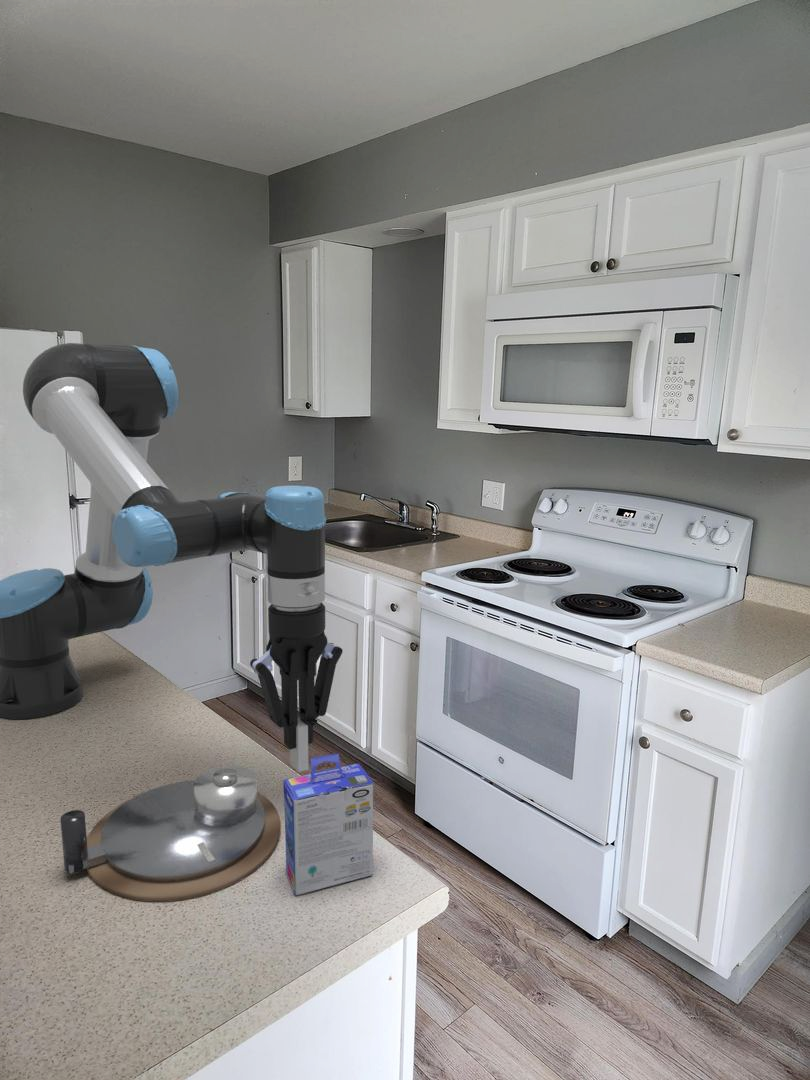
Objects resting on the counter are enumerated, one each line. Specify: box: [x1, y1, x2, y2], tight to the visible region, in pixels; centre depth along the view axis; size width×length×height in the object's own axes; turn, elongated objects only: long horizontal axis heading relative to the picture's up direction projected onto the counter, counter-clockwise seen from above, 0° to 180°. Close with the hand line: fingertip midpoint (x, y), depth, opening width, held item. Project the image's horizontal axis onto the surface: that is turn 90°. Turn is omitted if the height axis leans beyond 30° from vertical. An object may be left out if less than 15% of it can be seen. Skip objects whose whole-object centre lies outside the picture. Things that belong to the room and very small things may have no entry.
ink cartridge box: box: [282, 753, 375, 896], centre depth 86 cm, size 10×6×14 cm, turn 114°
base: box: [85, 791, 281, 903], centre depth 94 cm, size 24×24×1 cm
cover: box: [194, 765, 258, 826], centre depth 96 cm, size 8×8×5 cm
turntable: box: [60, 780, 265, 882], centre depth 92 cm, size 20×24×6 cm
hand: (299, 766), depth 101 cm, fingers closed
